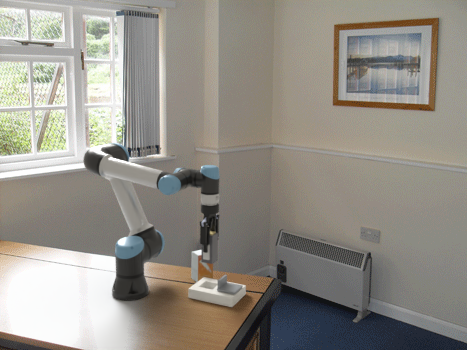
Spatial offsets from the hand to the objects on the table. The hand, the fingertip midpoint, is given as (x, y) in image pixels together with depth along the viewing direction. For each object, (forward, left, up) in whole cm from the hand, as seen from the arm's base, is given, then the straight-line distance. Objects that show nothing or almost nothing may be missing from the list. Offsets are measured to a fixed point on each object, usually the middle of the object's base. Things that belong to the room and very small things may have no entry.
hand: (209, 257), depth 222 cm
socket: (+4, 0, -17) cm, 17 cm away
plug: (0, 0, -2) cm, 2 cm away
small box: (-10, +13, -17) cm, 24 cm away
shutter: (+10, 0, -12) cm, 16 cm away
